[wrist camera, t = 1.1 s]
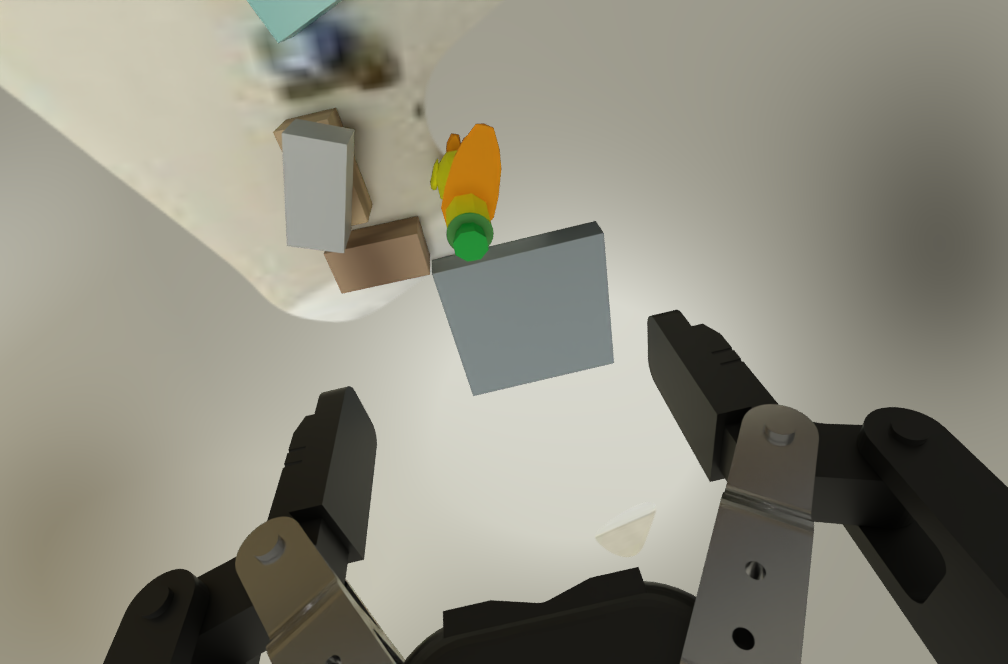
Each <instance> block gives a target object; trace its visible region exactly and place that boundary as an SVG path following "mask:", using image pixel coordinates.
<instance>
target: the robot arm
mask: <svg viewBox="0 0 1008 664" xmlns="http://www.w3.org/2000/svg"><path fill="white" fill-rule="evenodd" d="M647 326H648V362H649V368H650V372H651V375H652V378H653V380H654V382H655V384H656V386H657V388H658V390H659V391H660V393H661V395H662V397H663V398H664V400H665V402H666V404H667V406H668V407H669V409H670V411H671V413H672V415H673V416H674V418H675V420H676V422H677V423H678V425H679V427H680V429H681V431H682V433H683V434H684V436H685V438H686V440H687V442H688V443H689V445H690V447H691V449H692V450H693V452H694V454H695V456H696V458H697V459H698V461H699V463H700V465H701V467H702V468H703V470H704V472H705V474H706V475H707V477H708V479H709V481H710V482H711V481H716V480H720V479H724V478H725V479H726V481H727V485H726V488H725V492H723V494H722V497H721V501H720V505H719V509H718V513H717V517H716V521H715V525H714V529H713V533H712V537H711V541H710V545H709V549H708V553H707V557H706V561H705V565H704V568H703V573H702V577H701V581H700V585H699V588H698V592H697V596H696V597H695V596H694V595H692V594H690V593H688V592H685V591H683V590H681V589H679V588H676V587H672V586H669V585H666V584H661V583H656V582H646V581H643V579H642V576H641V573H640V570H639V568H638V567H636V568H632V569H628V570H623V571H619V572H615V573H610V574H605V575H601V576H596V577H593V578H589V579H587V580H585V581H583V582H582V583H580V584H578V585H576V586H574V587H572V588H571V589H569V590H567V591H565V592H563V593H561V594H559V595H558V596H556V597H554V598H552V599H550V600H548V601H546V602H543V603H527V602H510V601H492V600H490V601H486V602H482V603H477V604H473V605H468V606H464V607H460V608H455V609H451V610H446V611H443V628H441V629H439V630H438V631H436V632H435V633H433V634H432V635H430V636H429V637H428V638H426V639H425V640H424V641H423V642H422V643H421V644H420V645H418V646H417V647H416V648H415V650H414V651H413V652H412V653H411V654H410V655H409V656H408V657H407V659H406V660H405V659H404V658H403V656H402V655H401V654H400V652H399V651H398V650H397V649H396V647H395V646H394V645H393V644H392V642H391V641H390V640H389V638H388V637H387V636H386V634H385V633H384V632H383V630H382V629H381V627H380V626H379V624H378V623H377V622H376V620H375V619H374V617H373V616H372V615H371V613H370V612H369V610H368V609H367V608H366V606H365V605H364V603H363V602H362V601H361V599H360V598H359V596H358V595H357V594H356V592H355V591H354V589H353V588H352V587H351V585H350V584H349V582H348V581H347V580H346V579H345V578H346V571H347V564H348V563H351V562H355V561H360V560H364V554H365V545H366V536H367V527H368V518H369V510H370V501H371V492H372V483H373V475H374V465H375V457H376V448H377V439H376V433H375V429H374V426H373V424H372V422H371V420H370V418H369V416H368V414H367V413H366V411H365V409H364V407H363V405H362V404H361V402H360V400H359V398H358V396H357V394H356V392H355V391H354V389H353V388H352V387H350V386H348V387H344V388H340V389H336V390H331V391H327V392H323V393H321V394H320V396H319V399H318V403H317V407H316V411H315V414H313V415H309V416H306V417H305V418H304V419H303V421H302V422H301V423H300V425H299V426H298V428H297V429H296V430H295V432H294V433H293V437H292V440H291V444H290V447H289V453H287V457H286V460H285V463H284V465H285V467H284V468H283V470H282V473H281V477H280V480H279V483H278V487H277V490H276V493H275V497H274V500H273V503H272V507H271V510H270V513H269V517H268V520H267V521H266V522H265V523H263V524H261V525H260V526H258V527H257V528H256V529H255V530H253V531H252V532H251V534H249V535H248V537H247V538H246V539H245V540H244V542H243V543H242V545H241V547H240V548H239V550H238V553H237V556H236V557H235V558H233V559H231V560H229V561H228V562H226V563H224V564H222V565H220V566H218V567H216V568H214V569H212V570H210V571H209V572H207V573H205V574H203V575H201V576H199V577H196V576H194V575H193V574H192V573H191V572H189V571H187V570H184V569H176V570H171V571H169V572H166V573H164V574H162V575H160V576H158V577H157V578H155V579H153V580H152V581H151V582H150V583H148V584H147V585H146V586H145V587H144V588H143V589H142V590H141V591H140V592H139V593H138V594H137V595H136V596H135V598H134V599H133V600H132V602H131V603H130V605H129V606H128V608H127V610H126V612H125V614H124V617H123V619H122V621H121V623H120V626H119V628H118V630H117V633H116V635H115V637H114V640H113V642H112V644H111V647H110V649H109V651H108V653H107V656H106V658H105V661H104V663H103V664H259V661H260V656H261V653H263V652H265V651H267V654H268V656H269V658H270V661H271V662H272V664H801V656H802V646H803V636H804V626H805V616H806V605H807V595H808V586H809V575H810V565H811V555H812V544H813V534H814V522H825V523H836V524H843V525H844V527H845V528H846V530H847V531H848V533H849V534H850V536H851V537H852V539H853V540H854V541H855V543H856V544H857V546H858V547H859V549H860V550H861V552H862V553H863V555H864V556H865V558H866V559H867V561H868V562H869V564H870V565H871V566H872V568H873V569H874V571H875V572H876V574H877V575H878V577H879V578H880V580H881V581H882V582H883V584H884V586H885V587H886V589H887V590H888V591H889V593H890V594H891V596H892V597H893V599H894V600H895V601H896V603H897V605H898V606H899V607H900V609H901V611H902V612H903V613H904V615H905V616H906V618H907V619H908V621H909V622H910V624H911V625H912V627H913V628H914V630H915V631H916V633H917V634H918V635H919V637H920V638H921V640H922V641H923V643H924V644H925V646H926V647H927V649H928V650H929V652H930V653H931V654H932V656H933V657H934V659H935V660H936V662H937V663H938V664H1008V487H1007V486H1006V485H1004V483H1003V482H1002V481H1000V480H999V479H998V478H997V477H996V476H995V475H994V474H993V473H992V472H991V471H990V470H989V469H988V468H987V467H986V466H985V465H984V464H983V463H982V462H980V460H978V459H977V458H976V457H975V456H974V455H973V454H972V453H971V452H970V451H969V450H968V449H967V448H966V447H965V446H964V445H963V444H962V443H961V442H960V441H959V440H957V439H956V438H955V437H954V436H953V435H952V434H951V433H950V432H949V431H948V430H947V429H946V428H945V427H944V426H942V425H941V424H940V423H939V422H937V421H936V420H934V419H933V418H931V417H929V416H927V415H924V414H922V413H920V412H917V411H913V410H910V409H905V408H898V407H888V408H881V409H877V410H875V411H872V412H871V413H870V414H868V415H867V417H866V418H865V421H864V423H863V425H845V424H823V423H815V422H812V421H811V420H810V419H809V418H808V417H807V416H806V415H804V414H803V413H801V412H799V411H798V410H796V409H793V408H790V407H787V406H783V405H778V403H777V402H776V401H775V400H774V398H773V397H772V396H771V395H770V394H769V392H768V391H767V390H766V389H765V387H764V386H763V385H762V384H761V383H760V382H759V380H758V379H757V378H756V376H755V375H754V374H753V373H752V372H751V370H750V369H749V368H748V367H747V366H746V364H745V363H744V362H742V361H741V358H740V357H739V356H738V355H737V354H736V352H735V351H734V350H732V347H731V346H730V345H729V344H728V342H727V341H726V340H725V339H724V337H723V336H722V335H721V334H720V333H718V332H716V331H715V330H713V329H711V328H709V327H707V326H706V325H704V324H699V325H696V326H691V325H690V324H689V322H688V321H687V320H686V318H685V317H684V316H683V314H682V313H681V312H680V311H679V310H673V311H669V312H665V313H661V314H656V315H652V316H649V317H648V322H647Z"/></svg>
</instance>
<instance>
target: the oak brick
mask: <svg viewBox="0 0 1008 664" xmlns="http://www.w3.org/2000/svg"><path fill="white" fill-rule="evenodd" d="M295 119H301V120H306V121H312V122H317V123H322V124H328V125H333V126H338V127H343V125H342V123H341V120H340V117H339V115H338V112H337V110H336V108H333V109H329V110H324V111H320V112H316V113H312V114H308V115H304V116H300V117H295V118H291V119H287V120H285V121H284V122H283V123H282V124H281V125H280V126H279V127H278V128H277V129H276V130H275V131H274V132H273V133H274V135H275V138H276V140H277V142H278V144H279V146H280V148H281V150H282V132H283V131H284V130H285V129H286V128H287V127H288V126H289V125H290V124H291V123H292V122H293V121H294V120H295ZM282 153H283V150H282ZM371 208H372V202H371V199H370V196H369V194H368V191H367V189H366V186H365V183H364V181H363V178H362V175H361V173H360V170H359V167H358V165H357V162H356V160H355V157H354V160H353V188H352V217H351V226H353V225H357V224H362V223H366V222H368V220H369V216H370V212H371Z"/></svg>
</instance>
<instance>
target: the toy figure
mask: <svg viewBox="0 0 1008 664" xmlns="http://www.w3.org/2000/svg"><path fill="white" fill-rule="evenodd" d="M500 177H501V160H500V149H499V146H498V142H497V139H496V135H495V131H494V128H493V127H490V126H488V125H486V124H475V126H474V127H473V128H472V130H471V131H470V133H469V134H468V135H467V136H466V137H465V138H464V139H463V140H462V142H460V137H459V135H458V134H451V135H450V137H449V139H448V142H447V146H446V153H445V155H444V157H443V158H442V160H441V161H440V163H438V159H437V160H436V162H435V164H434V167H433V172H432V177H431V181H430V185H431V189H433V190H436V188H437V186H438V190H439V194H440V198H441V199H443V201H442V206H441V209H442V212H443V216H444V219H445V222H446V225H447V240H448V242H449V244H450V245H451V246H452V248H454V250H455V254H456V256H458V257H460V258H461V259H463V260H465V261H467V262H469V261H475V260H480V259H482V257H483V256H484V255H485V254H486V252H487V251H488V250H489V248H488V246H489V245H490V244H491V242H492V239H493V228H492V225H491V220H492V219H493V218H494V214H495V209H496V205H497V201H498V195H499V185H500Z"/></svg>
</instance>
